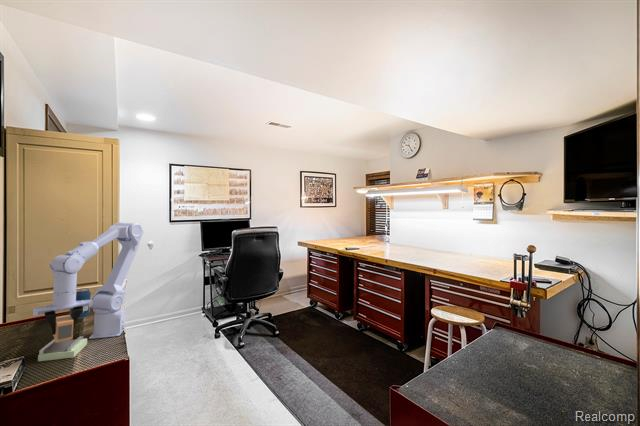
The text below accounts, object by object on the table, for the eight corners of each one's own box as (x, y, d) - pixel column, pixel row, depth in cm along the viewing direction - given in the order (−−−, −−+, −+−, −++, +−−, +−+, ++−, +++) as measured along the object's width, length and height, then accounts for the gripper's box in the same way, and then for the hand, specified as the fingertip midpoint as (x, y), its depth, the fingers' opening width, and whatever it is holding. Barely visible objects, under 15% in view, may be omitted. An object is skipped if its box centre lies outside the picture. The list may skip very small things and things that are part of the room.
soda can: (65, 318, 123) (66, 291, 123) (82, 313, 129) (83, 287, 130) (76, 320, 121) (77, 292, 121) (93, 315, 127) (94, 288, 128)
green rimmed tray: (87, 343, 100) (87, 334, 100) (73, 357, 91) (74, 347, 91) (55, 347, 97) (55, 337, 97) (37, 361, 87) (38, 351, 88)
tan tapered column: (68, 331, 98) (69, 314, 98) (72, 339, 92) (73, 321, 92) (53, 335, 95) (53, 317, 95) (56, 343, 89) (57, 324, 89)
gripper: (90, 285, 102) (88, 322, 102) (33, 292, 91) (31, 334, 91) (94, 289, 97) (92, 328, 97) (35, 297, 86) (32, 341, 86)
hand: (63, 331), depth 94 cm, fingers closed on tan tapered column, 4 cm apart
